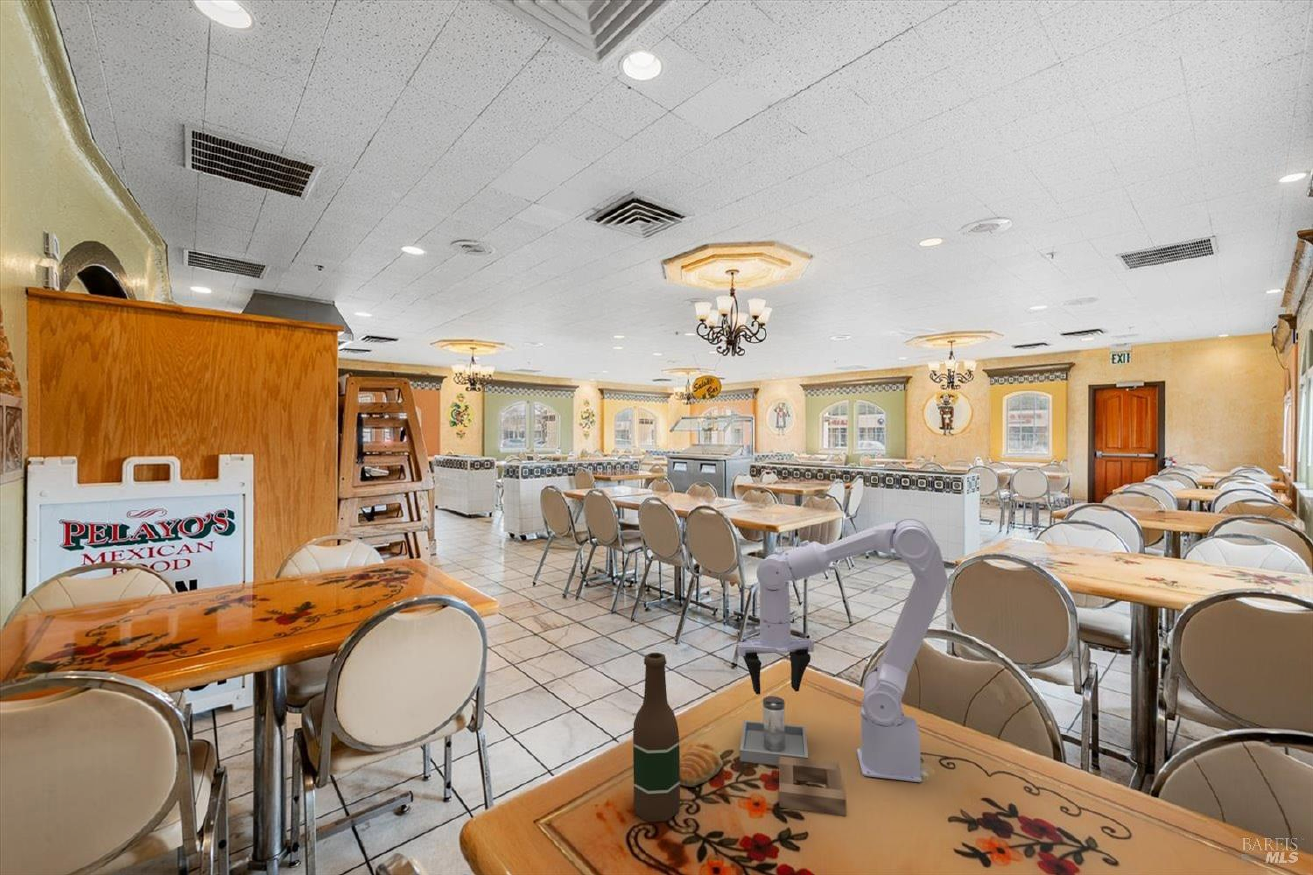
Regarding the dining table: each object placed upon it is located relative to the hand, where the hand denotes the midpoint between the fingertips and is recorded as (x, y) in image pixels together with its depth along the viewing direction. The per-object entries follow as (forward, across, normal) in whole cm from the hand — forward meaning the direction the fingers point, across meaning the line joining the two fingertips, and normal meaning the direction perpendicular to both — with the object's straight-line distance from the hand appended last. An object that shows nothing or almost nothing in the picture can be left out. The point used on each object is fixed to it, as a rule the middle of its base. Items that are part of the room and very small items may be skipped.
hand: (776, 690), depth 105 cm
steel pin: (+10, -1, -1) cm, 10 cm away
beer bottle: (+11, -25, -14) cm, 31 cm away
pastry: (+11, -16, -6) cm, 21 cm away
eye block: (+10, +1, -14) cm, 18 cm away
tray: (+10, -1, -1) cm, 10 cm away
